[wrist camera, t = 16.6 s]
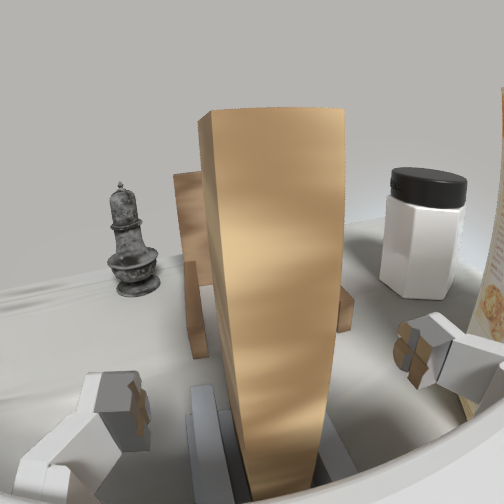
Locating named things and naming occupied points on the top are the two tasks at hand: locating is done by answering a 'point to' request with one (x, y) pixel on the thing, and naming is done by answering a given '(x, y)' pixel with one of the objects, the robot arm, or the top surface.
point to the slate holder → (229, 460)
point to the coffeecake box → (491, 285)
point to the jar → (422, 232)
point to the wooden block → (276, 278)
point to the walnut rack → (200, 264)
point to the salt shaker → (131, 248)
